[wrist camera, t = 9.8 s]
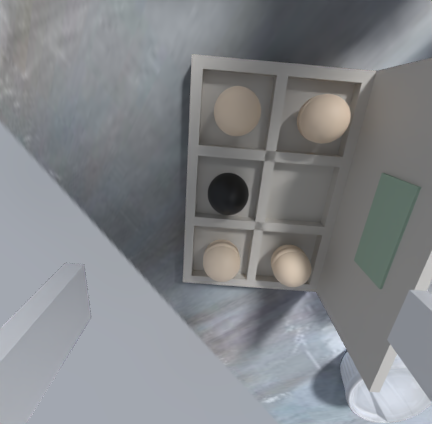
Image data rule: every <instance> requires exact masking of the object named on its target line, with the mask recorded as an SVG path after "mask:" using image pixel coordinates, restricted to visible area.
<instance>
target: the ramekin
mask: <svg viewBox="0 0 432 424" xmlns="http://www.w3.org/2000/svg"><path fill="white" fill-rule="evenodd" d="M340 372H341V376H342V380H343V384H344V388H345V396H346V400H347V403H348V405H349V407H350V409H351V410H352V411H353V413H354V414H356V415H357V416H359V417H360V418H362V419H365V420H368V421H371V422H377V423H392V422H399V421H403V420H406V419H409V418H412V417H414V416H416V415H418V414H420V413H421V412H423V411H424V410H426V409H427V408H428V407H429V406H430V405H431V404H432V402H431V401H430V400H429V398H428V397H427V395H426V394H425V392H424V391H423V390H422V388H421V387H420V385H419V384H418V383H417V381H416V380H415V378H414V377H413V376H412V374H411V373H410V371H409V370H408V369H407V367H406V366H405V364H404V363H403V361H402V360H401V359H400V357H399V356H398V354H397V356H396V358H395V360H394V362H393V364H392V366H391V368H390V371H389V373H388V375H387V377H386V379H385V381H384V383H383V386H382V388H381V390H380V392H369V391H368V389H367V387H366V385H365V383H364V381H363V379H362V377H361V376H360V374H359V372H358V370H357V368H356V366H355V364H354V362H353V360H352V359H351V357H350V355H349V353H348V351H347V352H346V353H345V355H344V356H343V359H342V361H341V364H340Z"/></svg>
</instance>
